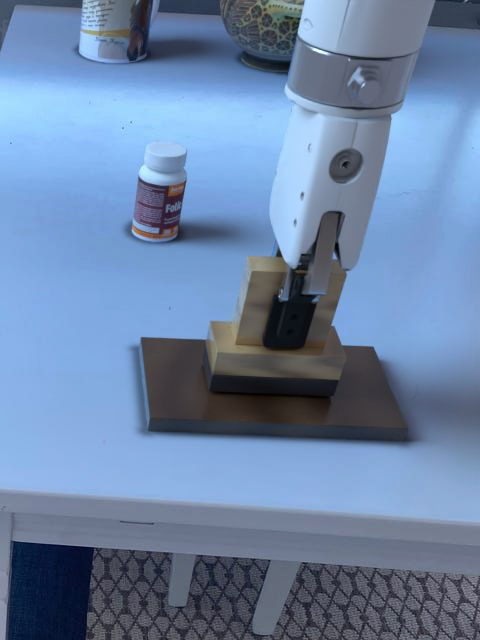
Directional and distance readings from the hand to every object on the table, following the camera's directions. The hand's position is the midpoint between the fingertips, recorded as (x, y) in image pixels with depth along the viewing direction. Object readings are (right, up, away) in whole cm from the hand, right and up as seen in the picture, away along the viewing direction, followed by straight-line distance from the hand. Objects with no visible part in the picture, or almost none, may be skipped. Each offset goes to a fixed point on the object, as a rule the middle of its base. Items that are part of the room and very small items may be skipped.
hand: (279, 333), depth 73 cm
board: (0, -4, +4) cm, 6 cm away
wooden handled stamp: (0, -3, +3) cm, 4 cm away
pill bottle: (-6, +18, +24) cm, 30 cm away
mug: (-5, +61, +63) cm, 88 cm away
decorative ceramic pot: (+17, +59, +61) cm, 86 cm away
